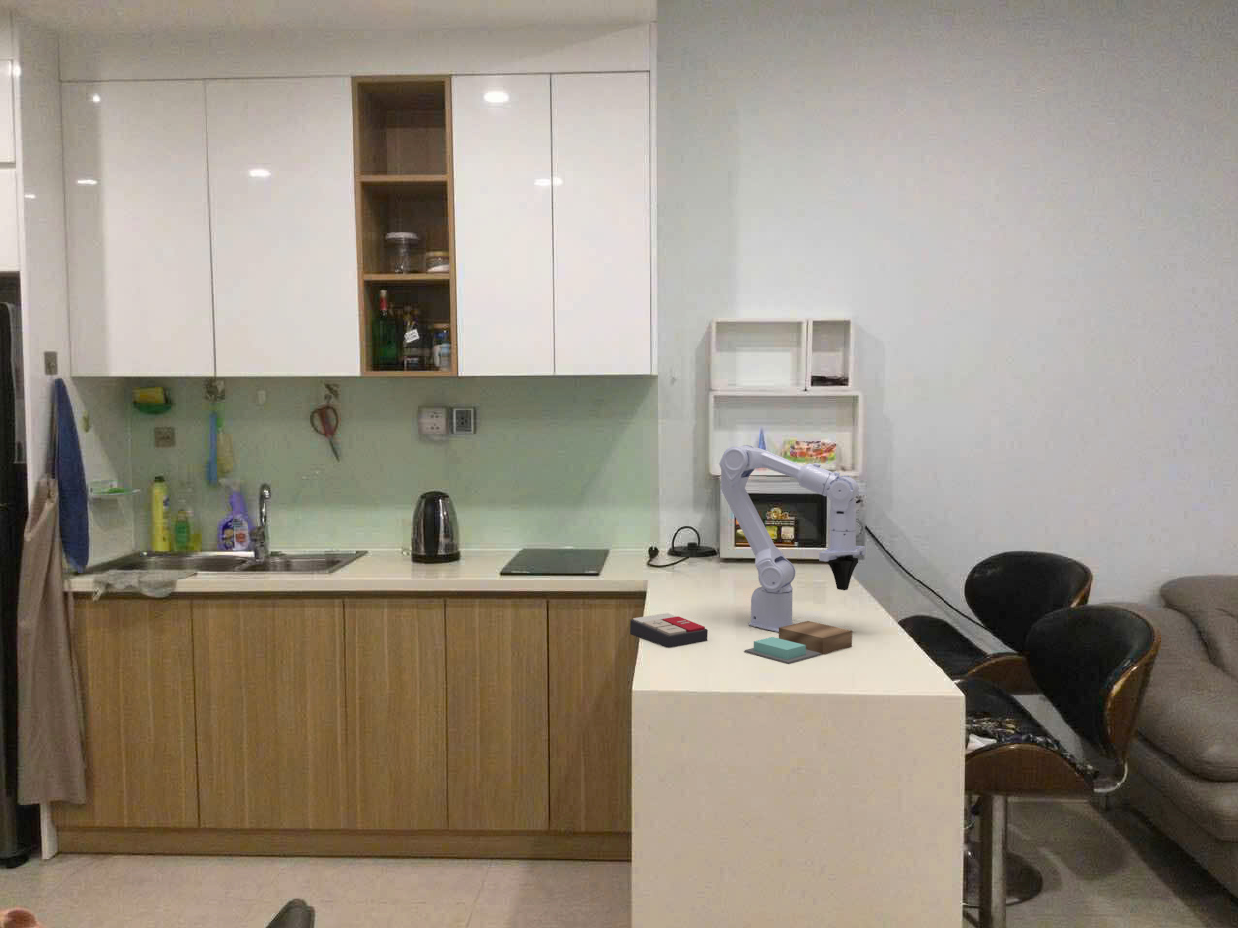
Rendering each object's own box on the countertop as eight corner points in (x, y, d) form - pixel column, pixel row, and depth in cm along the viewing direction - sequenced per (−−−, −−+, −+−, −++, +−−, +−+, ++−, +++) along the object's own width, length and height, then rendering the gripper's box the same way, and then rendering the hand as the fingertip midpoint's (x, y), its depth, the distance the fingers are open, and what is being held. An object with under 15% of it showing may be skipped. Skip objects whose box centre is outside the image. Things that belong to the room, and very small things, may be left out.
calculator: (669, 633, 197) (629, 616, 209) (668, 652, 197) (629, 634, 210) (708, 626, 203) (668, 610, 216) (708, 644, 204) (667, 628, 216)
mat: (744, 651, 194) (744, 650, 194) (777, 643, 201) (777, 641, 201) (788, 663, 185) (788, 662, 185) (821, 654, 191) (821, 653, 191)
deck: (778, 643, 201) (778, 627, 201) (807, 636, 207) (807, 620, 207) (822, 654, 192) (823, 638, 192) (851, 646, 198) (852, 630, 198)
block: (772, 636, 197) (772, 645, 197) (753, 641, 193) (753, 650, 193) (805, 645, 190) (805, 654, 190) (787, 649, 186) (786, 659, 186)
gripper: (837, 534, 200) (837, 596, 200) (876, 528, 209) (876, 587, 210) (811, 531, 205) (811, 591, 206) (851, 525, 214) (850, 583, 215)
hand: (842, 589), depth 208 cm, fingers closed
